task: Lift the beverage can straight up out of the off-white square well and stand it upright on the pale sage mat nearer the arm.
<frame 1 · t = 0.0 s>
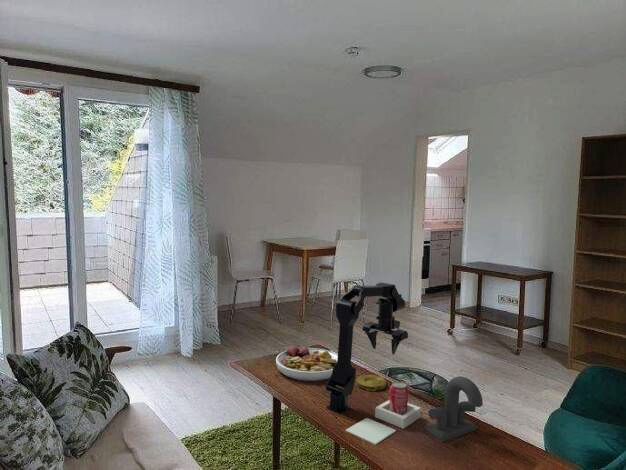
hand: (383, 351, 192), 15 cm above the table, tool pointing down, fingers open, 9 cm apart
bowl: (309, 370, 209), on the table
beverage can: (397, 417, 167), resting in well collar
gold flat disc: (370, 386, 194), on the table
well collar: (397, 417, 167), on the table
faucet: (458, 435, 156), on the table
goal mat: (370, 431, 156), on the table
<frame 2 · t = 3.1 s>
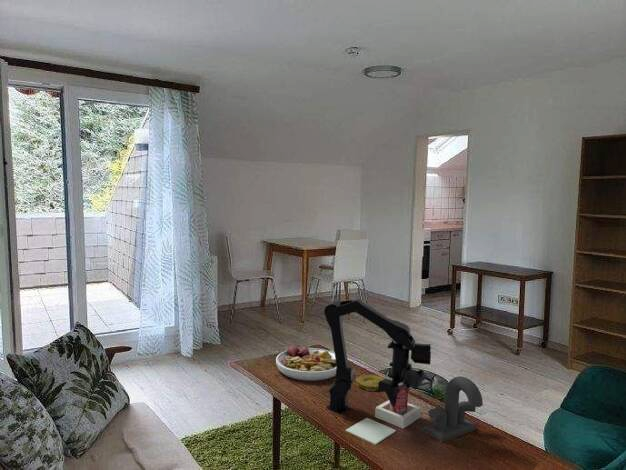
hand: (398, 403, 166), 5 cm above the table, tool pointing down, fingers closed on beverage can, 6 cm apart
beverage can: (397, 417, 167), resting in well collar, touching gripper
everything else where it was.
when the fingers open (7 cm above the table, at t = 8.6 s): beverage can drops 1 cm, resting on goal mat.
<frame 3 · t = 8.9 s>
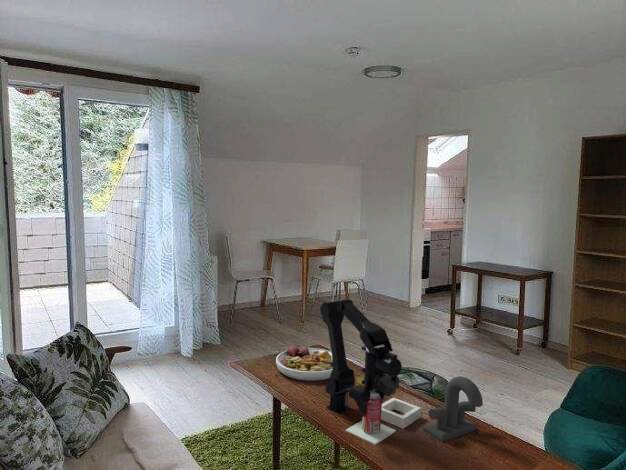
hand: (371, 411, 156), 7 cm above the table, tool pointing down, fingers open, 9 cm apart
beverage can: (370, 430, 156), resting on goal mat
everything else where it was.
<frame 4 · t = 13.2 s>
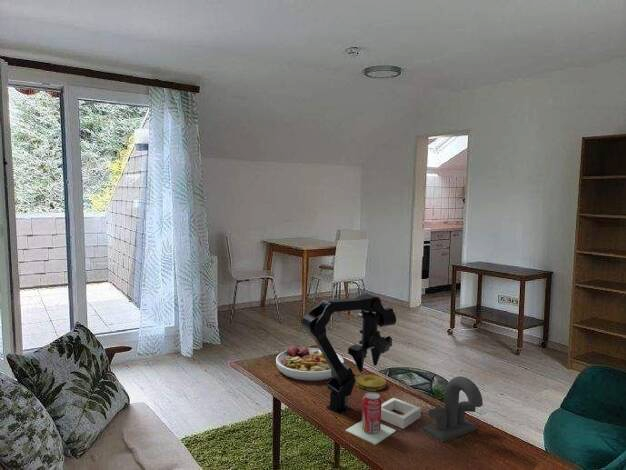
hand: (368, 368, 177), 13 cm above the table, tool pointing down, fingers open, 9 cm apart
nothing on the table moved.
at the end: beverage can inside the target area on the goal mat (0.0 cm from its centre), point 0.2 cm above the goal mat's base; beverage can tilted 0°; the gripper is holding nothing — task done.
